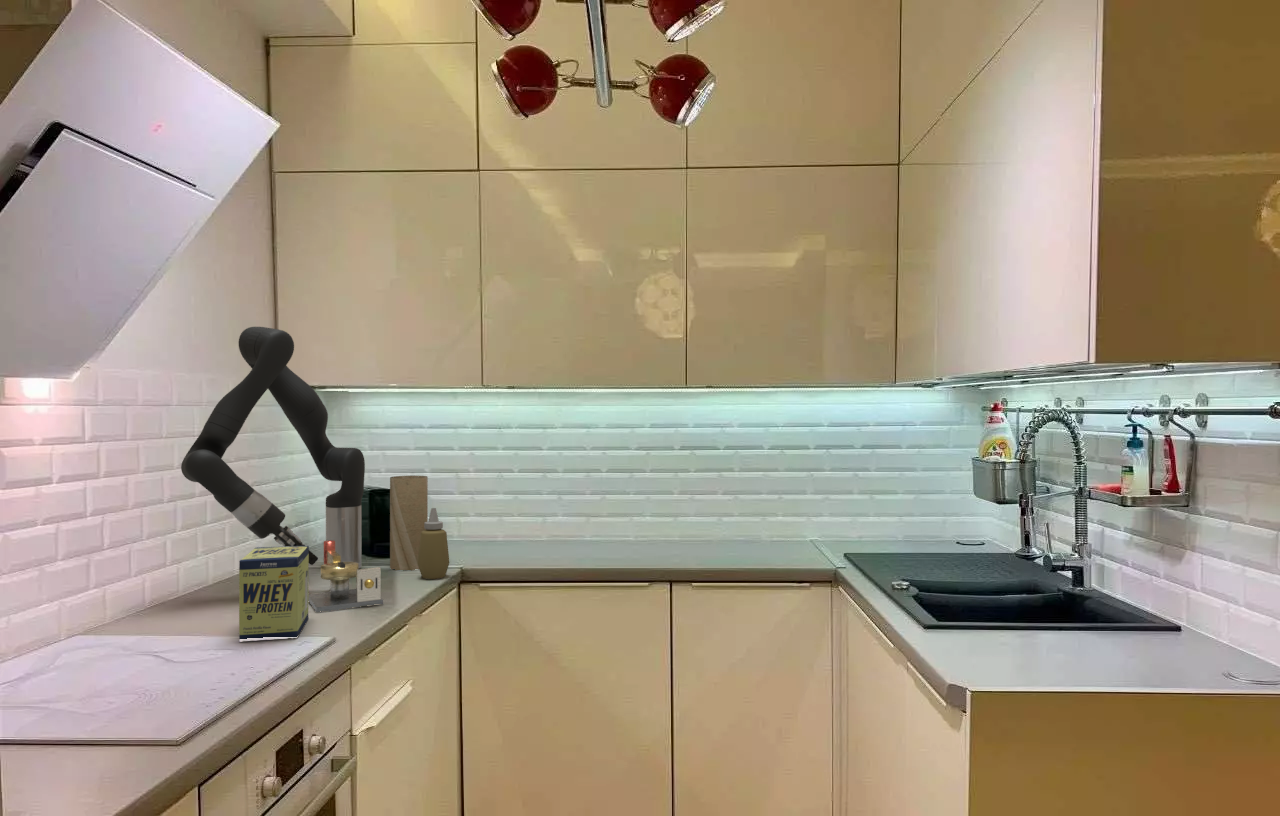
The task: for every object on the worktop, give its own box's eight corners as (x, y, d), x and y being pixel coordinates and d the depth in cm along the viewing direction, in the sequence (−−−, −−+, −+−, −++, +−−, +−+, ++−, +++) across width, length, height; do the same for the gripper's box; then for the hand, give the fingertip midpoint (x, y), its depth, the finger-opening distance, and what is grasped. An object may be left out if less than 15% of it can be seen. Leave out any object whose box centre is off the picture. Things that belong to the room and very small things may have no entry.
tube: (408, 572, 214) (408, 479, 214) (382, 568, 219) (382, 477, 219) (435, 565, 222) (435, 476, 222) (409, 562, 227) (409, 475, 227)
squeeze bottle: (423, 582, 201) (423, 511, 201) (413, 576, 208) (413, 507, 208) (454, 578, 206) (454, 508, 206) (443, 573, 212) (443, 505, 212)
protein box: (238, 643, 149) (238, 560, 149) (254, 622, 164) (254, 546, 164) (298, 639, 151) (298, 557, 151) (309, 618, 166) (309, 544, 166)
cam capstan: (310, 568, 191) (310, 541, 191) (345, 565, 195) (345, 539, 195) (323, 583, 174) (323, 554, 174) (361, 579, 178) (361, 550, 178)
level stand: (306, 599, 183) (306, 563, 183) (369, 592, 190) (369, 558, 190) (317, 614, 170) (317, 575, 170) (384, 605, 177) (384, 568, 177)
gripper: (273, 504, 180) (331, 553, 186) (267, 499, 191) (322, 545, 197) (247, 530, 177) (307, 579, 183) (243, 522, 188) (299, 569, 195)
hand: (314, 561), depth 190 cm, fingers closed
